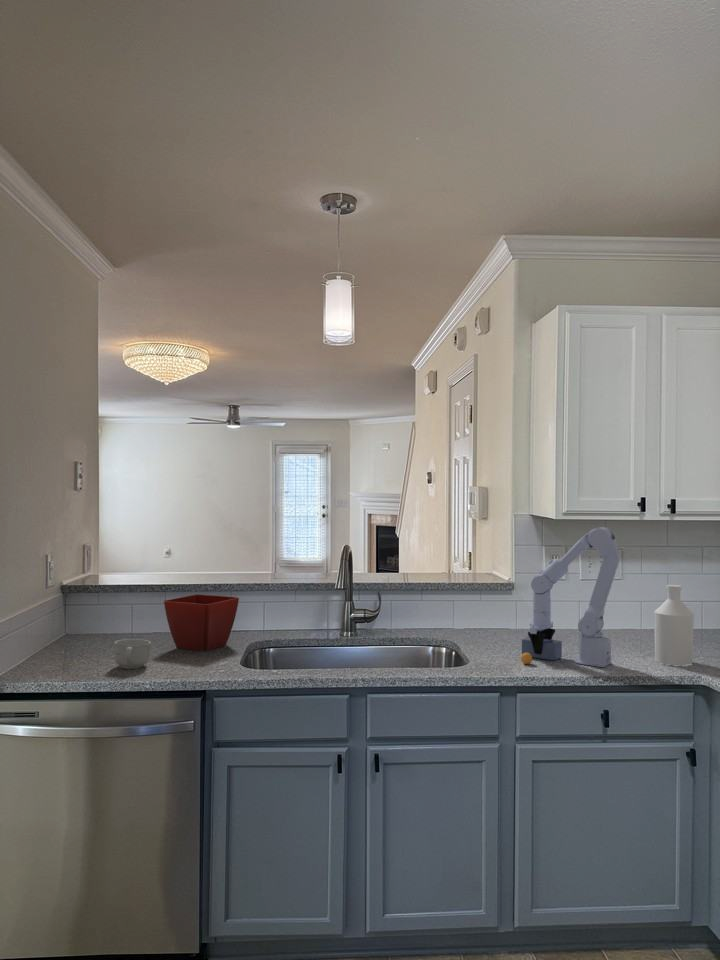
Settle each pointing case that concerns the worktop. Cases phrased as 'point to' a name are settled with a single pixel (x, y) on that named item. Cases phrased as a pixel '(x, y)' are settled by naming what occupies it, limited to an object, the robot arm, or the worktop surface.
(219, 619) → the plant pot
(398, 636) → the worktop surface
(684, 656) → the bottle
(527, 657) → the ball
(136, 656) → the teacup
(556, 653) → the slate blue block
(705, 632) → the worktop surface
